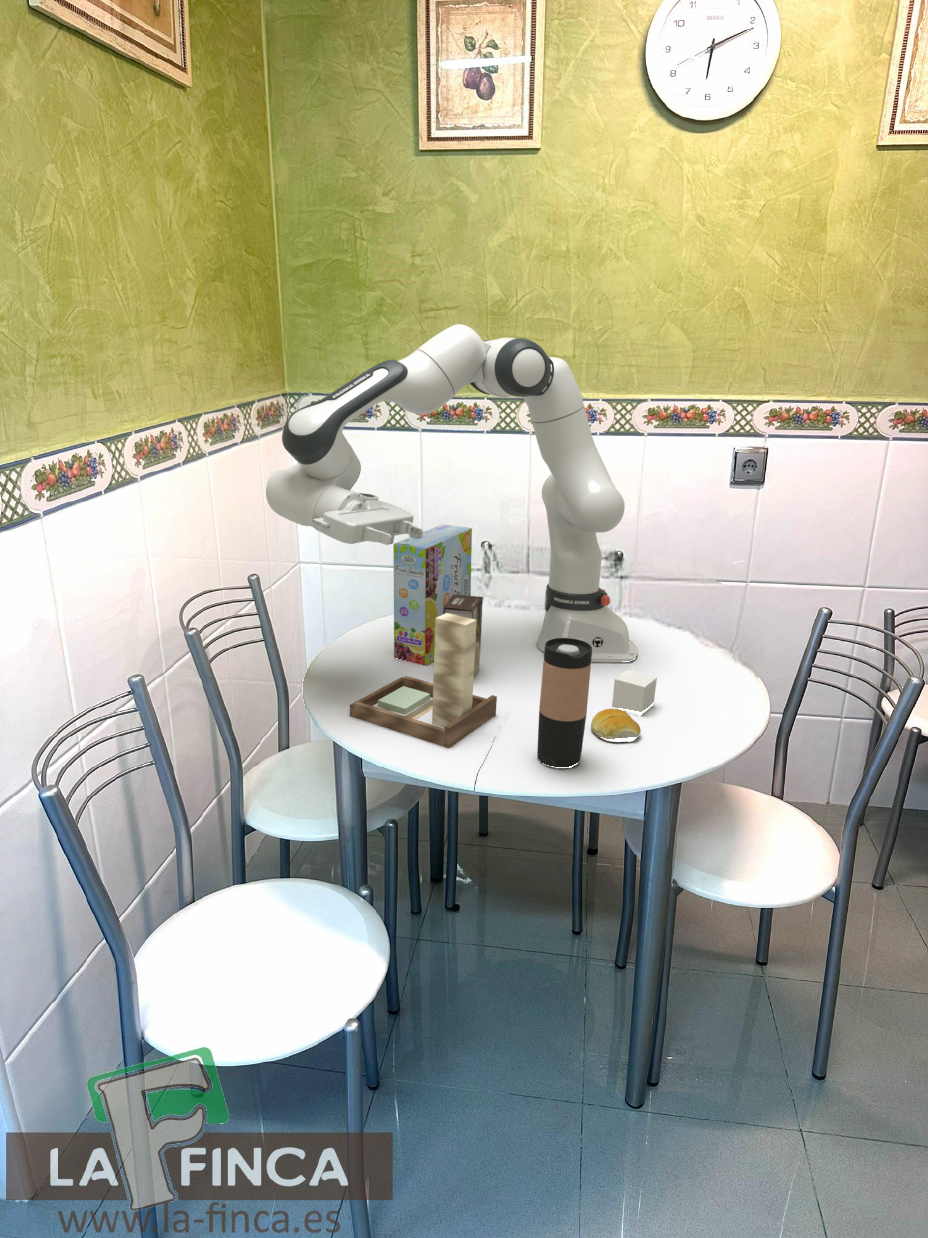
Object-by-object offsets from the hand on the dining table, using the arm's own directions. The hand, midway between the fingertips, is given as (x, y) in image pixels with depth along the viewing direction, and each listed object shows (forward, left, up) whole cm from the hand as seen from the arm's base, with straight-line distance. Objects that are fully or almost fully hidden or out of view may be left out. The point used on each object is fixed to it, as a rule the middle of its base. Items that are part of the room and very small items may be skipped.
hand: (406, 537), depth 146 cm
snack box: (-1, -32, -32) cm, 46 cm away
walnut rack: (-4, +3, -32) cm, 33 cm away
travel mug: (-29, +15, -32) cm, 46 cm away
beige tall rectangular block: (-10, +6, -32) cm, 34 cm away
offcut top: (0, +1, -31) cm, 31 cm away
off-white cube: (-43, -9, -33) cm, 55 cm away
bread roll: (-39, +3, -33) cm, 51 cm away
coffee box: (-9, -17, -32) cm, 38 cm away
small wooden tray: (0, +1, -33) cm, 33 cm away
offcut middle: (0, +1, -32) cm, 32 cm away
